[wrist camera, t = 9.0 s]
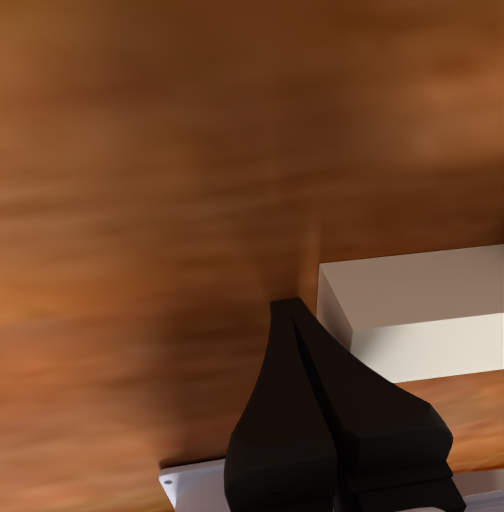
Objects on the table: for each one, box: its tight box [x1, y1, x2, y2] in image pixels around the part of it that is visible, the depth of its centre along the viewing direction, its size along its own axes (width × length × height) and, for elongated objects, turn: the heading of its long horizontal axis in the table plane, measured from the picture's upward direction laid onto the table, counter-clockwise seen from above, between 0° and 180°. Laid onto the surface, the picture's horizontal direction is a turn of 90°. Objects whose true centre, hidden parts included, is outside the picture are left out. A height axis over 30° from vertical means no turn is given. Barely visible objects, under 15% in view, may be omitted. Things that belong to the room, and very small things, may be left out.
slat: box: [316, 244, 504, 383], centre depth 13 cm, size 3×12×4 cm, turn 93°
